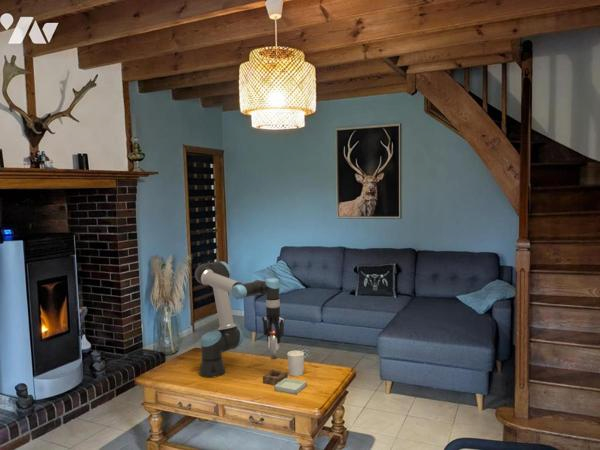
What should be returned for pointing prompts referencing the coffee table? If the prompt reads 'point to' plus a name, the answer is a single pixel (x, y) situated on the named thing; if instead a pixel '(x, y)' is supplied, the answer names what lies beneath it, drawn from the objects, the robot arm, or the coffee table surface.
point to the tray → (290, 386)
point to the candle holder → (295, 362)
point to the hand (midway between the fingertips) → (273, 348)
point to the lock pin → (273, 345)
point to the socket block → (274, 377)
